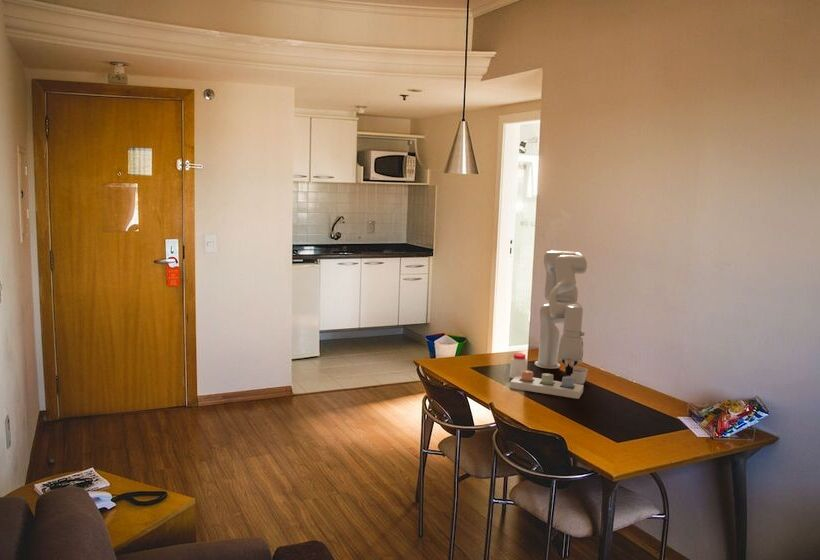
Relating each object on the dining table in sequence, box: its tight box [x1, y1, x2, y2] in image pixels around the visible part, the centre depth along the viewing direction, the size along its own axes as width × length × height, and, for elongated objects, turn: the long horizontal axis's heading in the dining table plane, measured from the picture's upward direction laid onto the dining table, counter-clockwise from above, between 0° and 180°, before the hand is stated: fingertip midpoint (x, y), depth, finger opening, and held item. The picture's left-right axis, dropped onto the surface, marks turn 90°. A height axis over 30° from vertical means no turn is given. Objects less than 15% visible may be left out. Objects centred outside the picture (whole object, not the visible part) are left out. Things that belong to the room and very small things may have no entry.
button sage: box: [541, 373, 554, 385], centre depth 300 cm, size 5×5×4 cm
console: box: [509, 375, 585, 400], centre depth 301 cm, size 12×30×3 cm, turn 68°
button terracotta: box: [521, 369, 534, 382], centre depth 304 cm, size 5×5×4 cm
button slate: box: [561, 375, 574, 389], centre depth 297 cm, size 5×5×4 cm
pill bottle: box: [509, 352, 529, 380], centre depth 318 cm, size 8×8×11 cm
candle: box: [569, 365, 589, 385], centre depth 315 cm, size 9×9×6 cm
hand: (568, 375), depth 296 cm, fingers closed
